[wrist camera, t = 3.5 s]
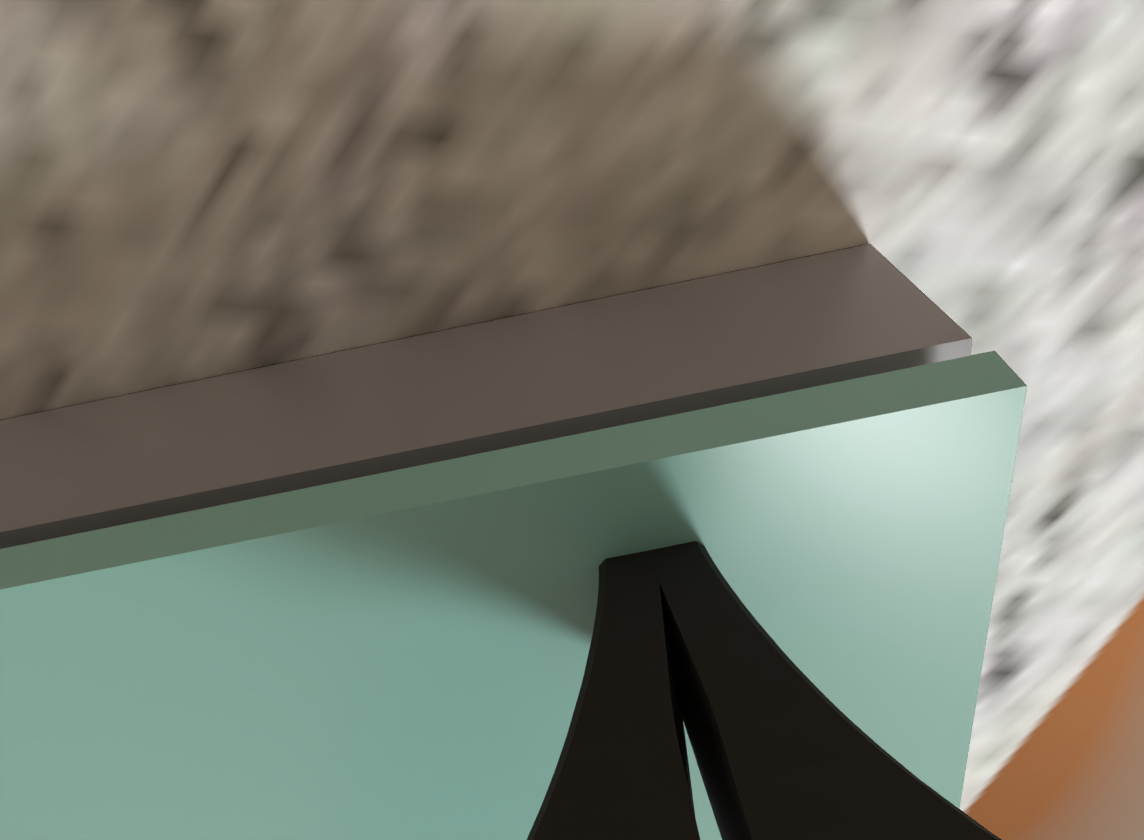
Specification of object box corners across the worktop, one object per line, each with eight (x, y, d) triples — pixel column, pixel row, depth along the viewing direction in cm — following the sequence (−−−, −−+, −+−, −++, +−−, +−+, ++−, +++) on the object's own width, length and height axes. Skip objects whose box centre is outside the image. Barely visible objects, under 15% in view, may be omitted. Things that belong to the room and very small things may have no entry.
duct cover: (936, 795, 17) (955, 835, 17) (-131, 996, 18) (-153, 1042, 17) (994, 350, 11) (1027, 385, 11) (-636, 675, 12) (-699, 728, 11)
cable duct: (873, 667, 21) (944, 810, 18) (-30, 841, 22) (-123, 1010, 18) (870, 243, 16) (972, 337, 12) (-341, 489, 16) (-552, 642, 13)
